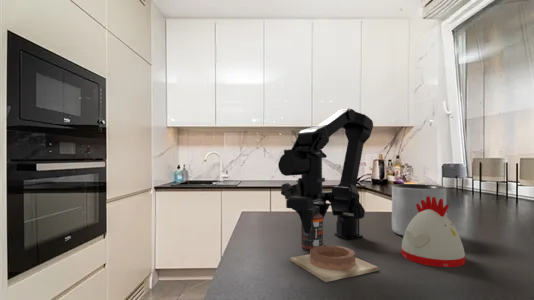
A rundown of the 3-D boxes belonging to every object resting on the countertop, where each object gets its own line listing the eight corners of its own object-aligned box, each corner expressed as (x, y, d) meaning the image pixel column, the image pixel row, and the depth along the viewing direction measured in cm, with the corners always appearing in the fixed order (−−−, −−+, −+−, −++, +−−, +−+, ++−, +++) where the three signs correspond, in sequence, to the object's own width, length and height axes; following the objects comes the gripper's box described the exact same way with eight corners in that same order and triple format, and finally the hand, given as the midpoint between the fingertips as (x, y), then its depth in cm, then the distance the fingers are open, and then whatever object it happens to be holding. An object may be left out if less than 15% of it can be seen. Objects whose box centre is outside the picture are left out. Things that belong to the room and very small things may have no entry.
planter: (456, 242, 89) (455, 188, 90) (398, 239, 92) (397, 188, 93) (436, 229, 105) (435, 184, 106) (387, 227, 108) (386, 183, 108)
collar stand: (337, 252, 80) (337, 240, 80) (378, 270, 67) (377, 255, 67) (290, 260, 73) (290, 247, 74) (325, 282, 61) (325, 265, 61)
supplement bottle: (322, 251, 81) (322, 208, 81) (300, 249, 82) (300, 207, 82) (323, 244, 87) (323, 204, 87) (302, 243, 88) (302, 204, 88)
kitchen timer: (441, 271, 67) (440, 202, 67) (389, 253, 79) (389, 195, 79) (477, 261, 73) (476, 198, 73) (424, 246, 85) (423, 192, 86)
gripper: (301, 172, 97) (302, 221, 97) (268, 175, 82) (269, 233, 81) (335, 173, 91) (335, 226, 91) (306, 176, 76) (306, 240, 75)
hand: (312, 230), depth 85 cm, fingers closed on supplement bottle, 6 cm apart
